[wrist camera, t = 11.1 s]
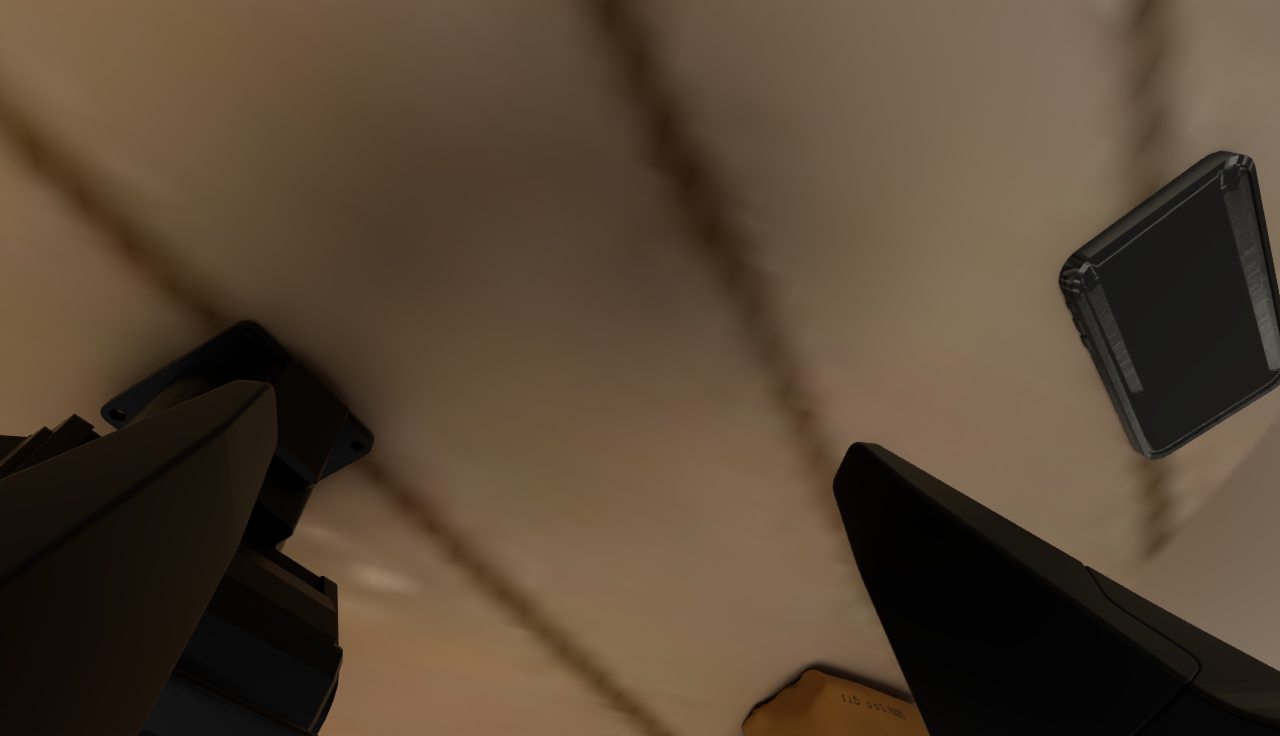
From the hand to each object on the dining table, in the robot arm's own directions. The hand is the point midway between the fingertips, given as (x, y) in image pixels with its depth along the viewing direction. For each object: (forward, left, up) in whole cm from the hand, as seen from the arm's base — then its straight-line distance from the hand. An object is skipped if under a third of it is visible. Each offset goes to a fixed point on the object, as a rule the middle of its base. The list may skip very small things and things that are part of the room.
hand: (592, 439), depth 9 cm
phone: (+22, -19, -14) cm, 32 cm away
